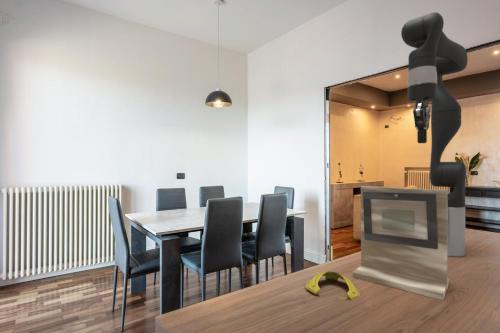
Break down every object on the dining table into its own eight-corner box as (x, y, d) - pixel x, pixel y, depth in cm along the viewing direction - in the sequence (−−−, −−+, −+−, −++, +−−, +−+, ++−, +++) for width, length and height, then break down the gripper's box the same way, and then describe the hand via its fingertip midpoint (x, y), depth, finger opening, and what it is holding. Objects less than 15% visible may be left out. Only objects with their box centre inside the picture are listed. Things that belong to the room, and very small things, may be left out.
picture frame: (366, 238, 85) (364, 191, 85) (438, 247, 73) (436, 193, 73) (364, 240, 83) (362, 192, 83) (437, 249, 72) (434, 194, 72)
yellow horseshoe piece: (331, 278, 84) (331, 263, 84) (369, 294, 73) (369, 278, 73) (297, 288, 77) (297, 272, 77) (334, 308, 66) (333, 290, 66)
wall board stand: (366, 265, 92) (366, 185, 92) (449, 283, 78) (449, 188, 78) (352, 277, 83) (352, 188, 83) (443, 300, 69) (443, 192, 68)
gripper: (412, 91, 92) (412, 144, 92) (402, 82, 82) (402, 142, 82) (440, 86, 87) (440, 143, 88) (433, 77, 77) (433, 141, 78)
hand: (422, 143), depth 85 cm, fingers closed
